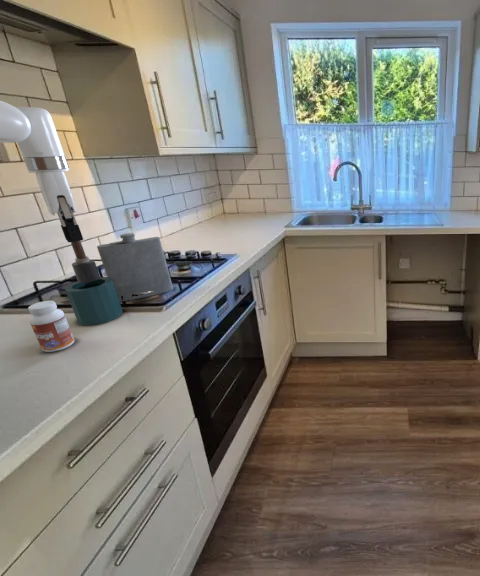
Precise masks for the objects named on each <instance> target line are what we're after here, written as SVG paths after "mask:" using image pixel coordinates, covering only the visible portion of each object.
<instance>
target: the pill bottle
mask: <svg viewBox="0 0 480 576" xmlns="http://www.w3.org/2000/svg"><path fill="white" fill-rule="evenodd" d="M27 309H28V312H29V313H30V315H31V316H30V317H29V319H28V321H29V325H30V326H31V329H32V332H33V334H34V336H35V338H36V340H37V342H38V344H39V347H40V349H41V351H43V352H45V353H53V352H58V351H62V350H65V349H68V348H69V347H70V346H72V345H73V344H74V343H75V337H74V335H73V332H72V330H71V327H70V324H69V322H68V320H67V317H66V315H65V312H64V311H63V310H61V309H59V308H58V306H57V303H56V302H55V300H44V301H38V302H36V303H33V304H31V305H30V306H28V307H27Z"/></svg>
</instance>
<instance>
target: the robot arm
mask: <svg viewBox="0 0 480 576" xmlns="http://www.w3.org/2000/svg"><path fill="white" fill-rule="evenodd" d="M4 143H5V144H7V143H8V144H9V143H13V144H14V143H17V146H18V148H19V151H20V153H21V156H22V158H23V162H24V164H25V167H26V169H27V171H28V173H30V174H35V177H36V181H37V184H38V186H39V189H40V192H41V196H42V198H43V200H44V202H45V206H46V208H47V211H48V213H49V214H50V215H51V216H56V215H57V217H58V220H59V222H60V227H61V230H62V233H63V235H64V238H65V241H67V243H71V242H75V241H81V242H82V241H83V240H84V237H83V234H82V231H81V228H80V225H79V224H78V222H77V219H76V217H75V213H76V212H77V208H76V205H75V204H76V203H75V201H74V200H75V199H74V197H73V193H72V191H71V187H70V185H69V182H68V181H69V180H68V179H67V176H66V173H65V172H67V171H70V166H69V163H68V160H67V158H66V155H65V152H64V150H63V146H62V143H61V141H60V137H59V135H58V131H57V129H56V126H55V123H54V120H53V118H52V115H51V113H50V112H49V111H48V110H47V109H46V108H43V107H35V106H14V105H12V104H10V103H9V102H6V101H3V100H0V144H4Z"/></svg>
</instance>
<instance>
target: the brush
mask: <svg viewBox="0 0 480 576" xmlns="http://www.w3.org/2000/svg"><path fill="white" fill-rule="evenodd" d="M70 245H71V247H72V250H73V254H74V255H75V258H74V261H73V262H72V263H71V267H72V269H73V272H74V274H75V275H74V276H75V277H76V280H77V282H79V283H88V282H93V281H96V280H98V279H100V277H101V275H100V272H99V270H98V267H97V264H96V261H95V260H94V259H90V258H89V256H88V255H86V252H85V249H84V247H83V244H82V240H81V241H75V242H70Z"/></svg>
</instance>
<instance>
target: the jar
mask: <svg viewBox="0 0 480 576" xmlns="http://www.w3.org/2000/svg"><path fill="white" fill-rule="evenodd" d="M64 290H65V293H66V296H67V299H68V300H69V303H70V306H71V308H72V311H73V313H74V316H75V318H76V321H77V322H78V324H79V325H81V326H96V325H100V324H104V323H109V322H110V321H113V320H115V319H117V318H119V317H120V316H121V315H122V314H123V312H124V311H123V307H122V304H121V302H120V301H119V298H118V295H117V292H116V289H115V286H114V283H113V280H112V279H111V278H108V277H107V276H100V279H98V280H96V281H93V282H88V283H79V282H78V281H75V282H72V283H71V284H68V285H67V286H65V288H64Z"/></svg>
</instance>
